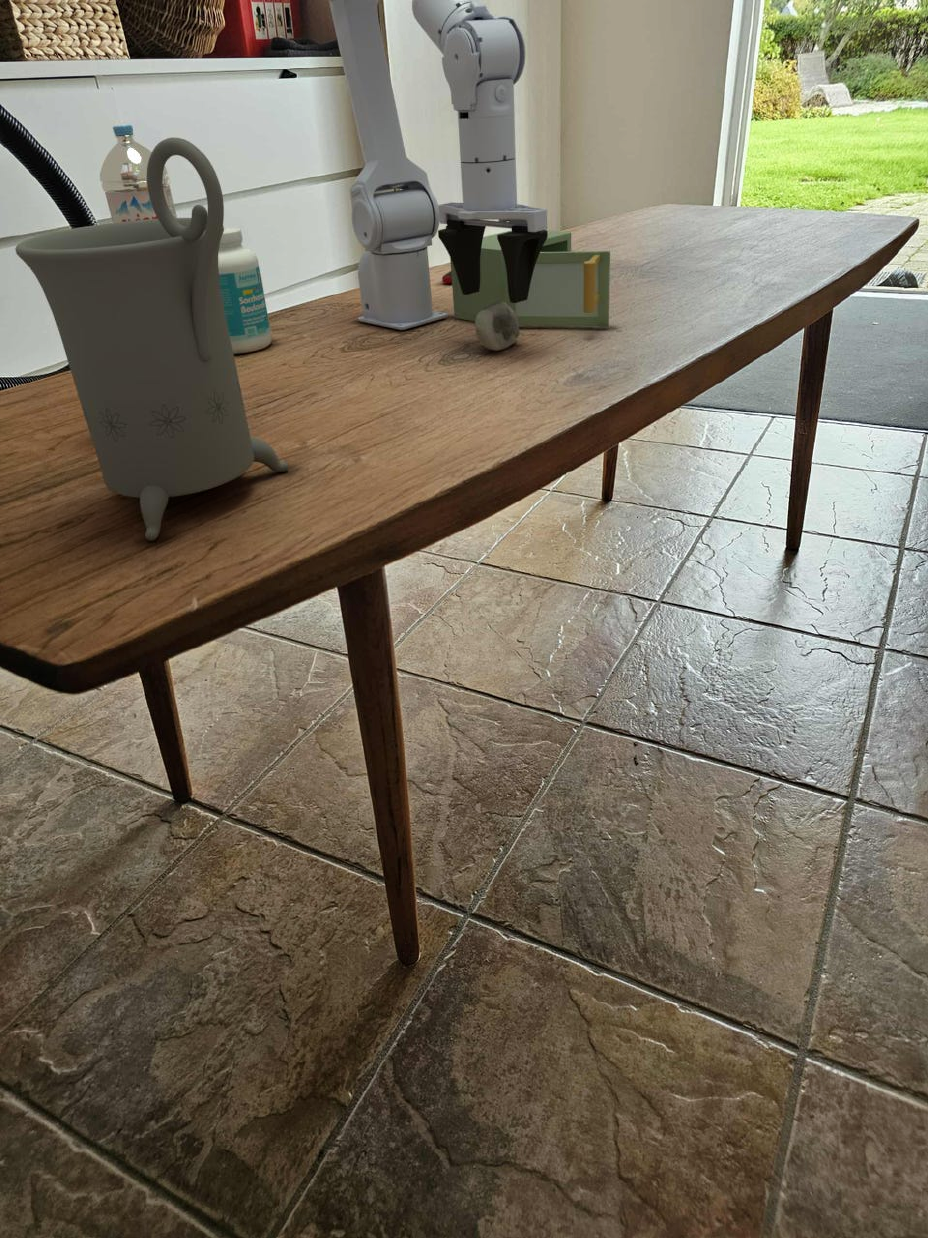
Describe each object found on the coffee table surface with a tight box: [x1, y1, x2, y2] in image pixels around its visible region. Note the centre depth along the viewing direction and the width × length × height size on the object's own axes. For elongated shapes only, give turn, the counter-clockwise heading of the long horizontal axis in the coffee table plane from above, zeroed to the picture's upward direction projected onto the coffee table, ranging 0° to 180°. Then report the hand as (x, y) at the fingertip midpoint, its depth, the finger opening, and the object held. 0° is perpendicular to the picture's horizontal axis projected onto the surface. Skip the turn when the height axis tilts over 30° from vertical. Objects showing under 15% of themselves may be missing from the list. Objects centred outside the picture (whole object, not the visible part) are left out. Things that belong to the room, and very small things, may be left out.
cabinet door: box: [504, 250, 611, 328], centre depth 102 cm, size 13×5×8 cm, turn 72°
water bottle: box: [99, 124, 178, 223], centre depth 94 cm, size 7×7×25 cm
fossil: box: [474, 301, 520, 352], centre depth 99 cm, size 6×3×5 cm, turn 150°
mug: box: [14, 137, 289, 542], centre depth 63 cm, size 19×15×25 cm
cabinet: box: [449, 229, 572, 323], centre depth 112 cm, size 13×9×9 cm
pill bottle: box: [218, 227, 273, 355], centre depth 105 cm, size 8×7×14 cm
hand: (494, 296), depth 97 cm, fingers open, 7 cm apart
